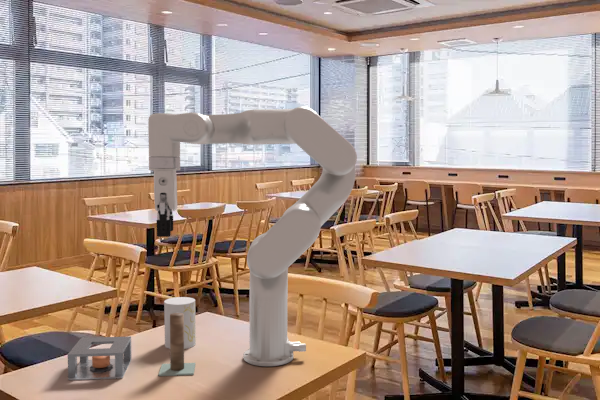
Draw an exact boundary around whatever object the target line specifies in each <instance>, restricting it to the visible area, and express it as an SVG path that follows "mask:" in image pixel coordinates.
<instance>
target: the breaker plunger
mask: <svg viewBox="0 0 600 400" xmlns="http://www.w3.org/2000/svg"><path fill="white" fill-rule="evenodd" d="M110 359H111V356H91V360H92V366H93V367H95V368H103V367H107V366H109V365H110Z"/></svg>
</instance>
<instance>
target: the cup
mask: <svg viewBox="0 0 600 400" xmlns="http://www.w3.org/2000/svg"><path fill="white" fill-rule="evenodd" d="M163 304H164V305H163V306H164V307H163V309H164V311H163V312H164V347H165V348H166V349H169V350H170V314H172V313H183V314H184V350H186V349H187V350H188V349H191V348H193V347H194V345H196V340H197V339H196V338H197V337H196V334H197V333H196V328H197V327H196V299H195V298H194V297H187V296H176V297H168V298H167V299H165V300H164V301H163ZM190 347H191V348H190Z"/></svg>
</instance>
